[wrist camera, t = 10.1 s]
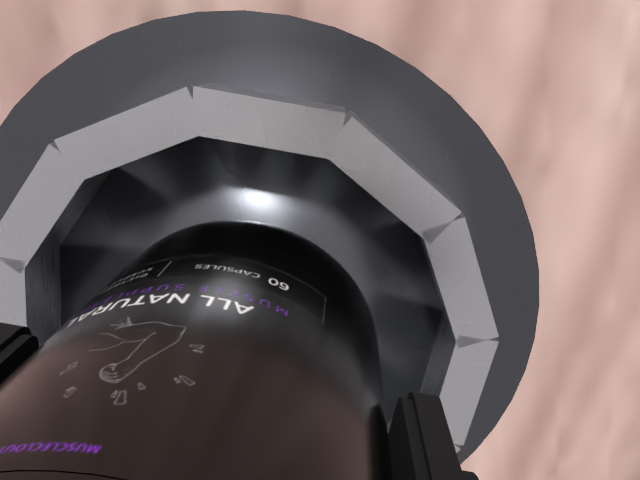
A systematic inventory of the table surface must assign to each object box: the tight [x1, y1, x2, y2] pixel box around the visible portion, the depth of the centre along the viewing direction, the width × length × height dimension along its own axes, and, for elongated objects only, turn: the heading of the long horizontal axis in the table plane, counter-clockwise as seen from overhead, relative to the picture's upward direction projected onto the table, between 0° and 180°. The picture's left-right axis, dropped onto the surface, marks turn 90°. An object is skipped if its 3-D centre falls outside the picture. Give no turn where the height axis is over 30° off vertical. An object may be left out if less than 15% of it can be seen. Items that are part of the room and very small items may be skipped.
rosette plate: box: [0, 10, 539, 464], centre depth 14 cm, size 16×16×3 cm
